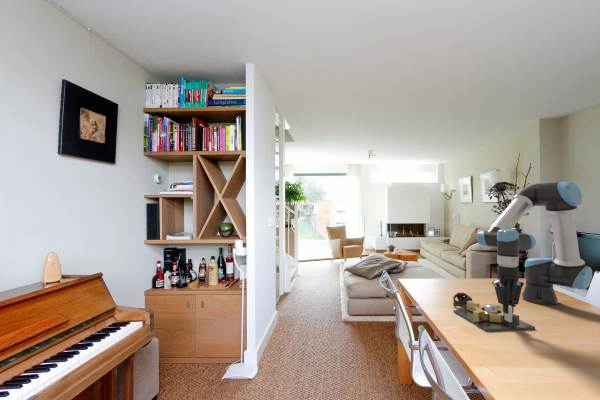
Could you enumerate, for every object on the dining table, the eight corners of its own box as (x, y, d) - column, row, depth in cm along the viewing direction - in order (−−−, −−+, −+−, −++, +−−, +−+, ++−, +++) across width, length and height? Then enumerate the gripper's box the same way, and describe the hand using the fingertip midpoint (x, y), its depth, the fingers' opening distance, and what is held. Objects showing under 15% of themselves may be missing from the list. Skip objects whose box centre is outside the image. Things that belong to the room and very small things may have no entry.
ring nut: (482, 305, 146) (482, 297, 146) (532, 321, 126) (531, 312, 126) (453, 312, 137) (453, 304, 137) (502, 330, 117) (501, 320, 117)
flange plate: (495, 310, 143) (495, 297, 144) (535, 329, 121) (534, 313, 122) (453, 312, 142) (453, 298, 142) (485, 331, 120) (485, 315, 120)
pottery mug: (480, 311, 144) (474, 298, 142) (461, 318, 145) (455, 305, 144) (467, 297, 156) (462, 285, 154) (450, 304, 157) (445, 292, 156)
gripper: (500, 267, 120) (500, 324, 119) (529, 267, 121) (529, 324, 120) (487, 263, 127) (487, 317, 127) (514, 263, 128) (515, 317, 128)
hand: (508, 320), depth 124 cm, fingers closed
